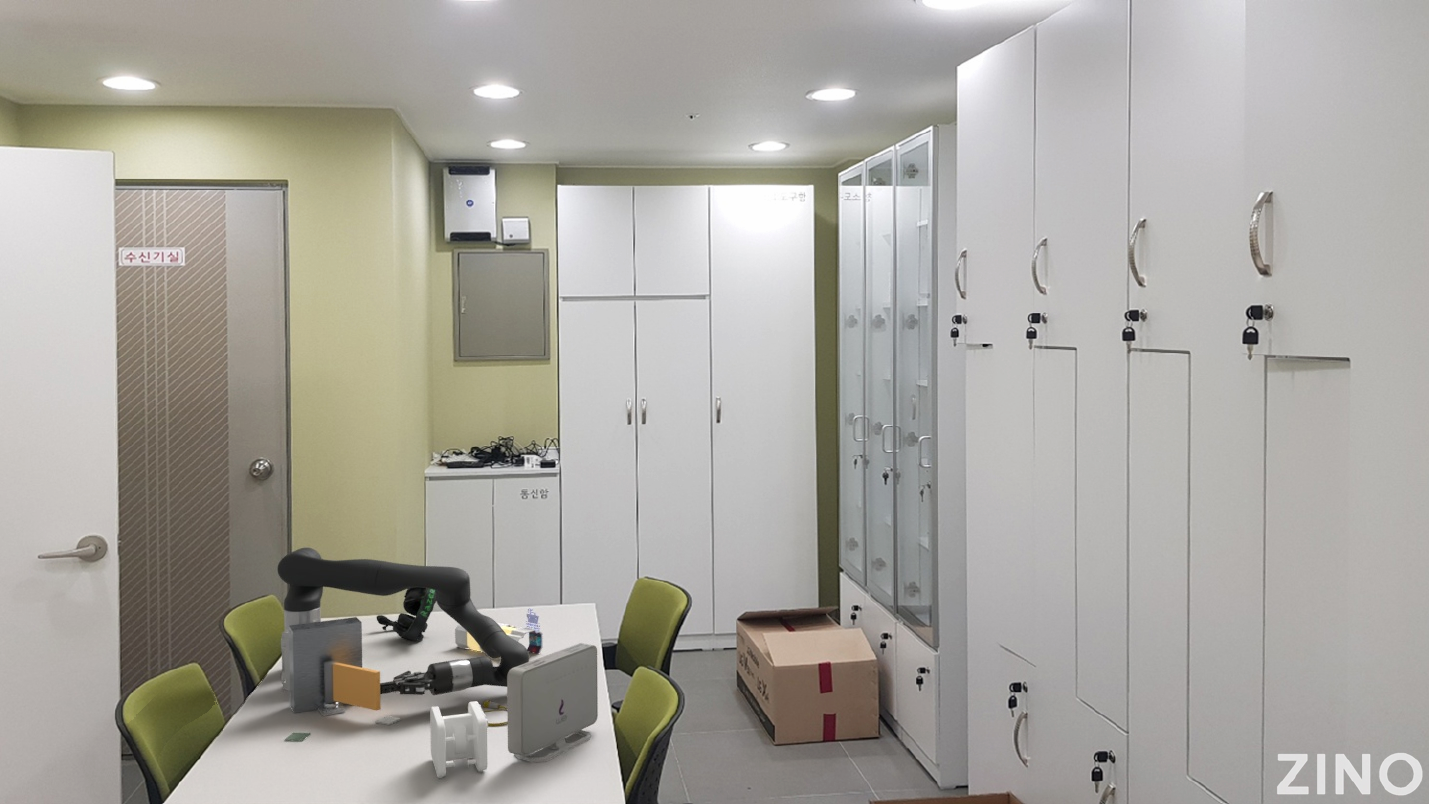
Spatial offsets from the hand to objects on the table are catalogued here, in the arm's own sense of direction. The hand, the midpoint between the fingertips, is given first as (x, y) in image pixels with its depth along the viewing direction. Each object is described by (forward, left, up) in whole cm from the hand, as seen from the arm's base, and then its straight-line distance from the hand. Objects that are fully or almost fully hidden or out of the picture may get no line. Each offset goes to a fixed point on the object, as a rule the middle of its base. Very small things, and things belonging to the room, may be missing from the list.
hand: (377, 689), depth 244 cm
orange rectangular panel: (-8, +1, -5) cm, 9 cm away
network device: (+46, -5, -8) cm, 47 cm away
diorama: (+2, +60, -8) cm, 61 cm away
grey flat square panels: (-12, 0, -7) cm, 14 cm away
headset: (-30, +65, -8) cm, 72 cm away
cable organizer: (+31, -20, -8) cm, 38 cm away
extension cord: (+25, +10, -8) cm, 28 cm away
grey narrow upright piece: (-30, +18, -8) cm, 35 cm away
